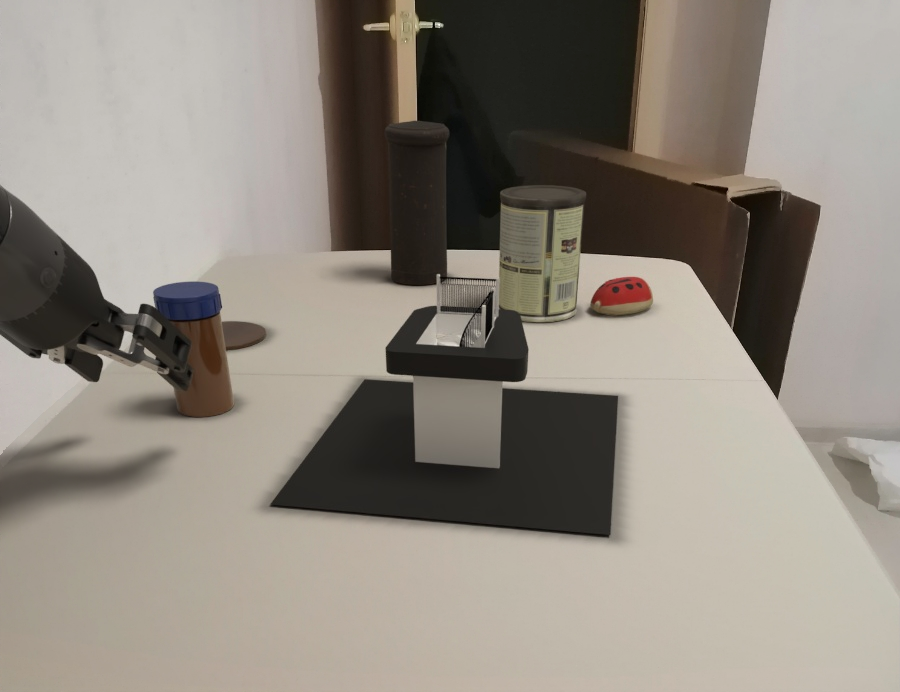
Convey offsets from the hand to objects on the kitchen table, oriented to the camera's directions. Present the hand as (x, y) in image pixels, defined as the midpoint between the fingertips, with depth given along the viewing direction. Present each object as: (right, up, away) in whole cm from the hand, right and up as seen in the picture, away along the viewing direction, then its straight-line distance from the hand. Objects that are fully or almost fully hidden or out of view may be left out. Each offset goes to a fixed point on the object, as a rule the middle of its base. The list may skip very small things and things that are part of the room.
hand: (141, 376), depth 72 cm
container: (+22, +28, +51) cm, 62 cm away
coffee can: (+37, +18, +37) cm, 56 cm away
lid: (+2, +9, +5) cm, 10 cm away
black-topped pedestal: (+28, -5, +3) cm, 28 cm away
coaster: (-1, +12, +29) cm, 31 cm away
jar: (+2, 0, +11) cm, 11 cm away
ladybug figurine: (+49, +19, +38) cm, 65 cm away
